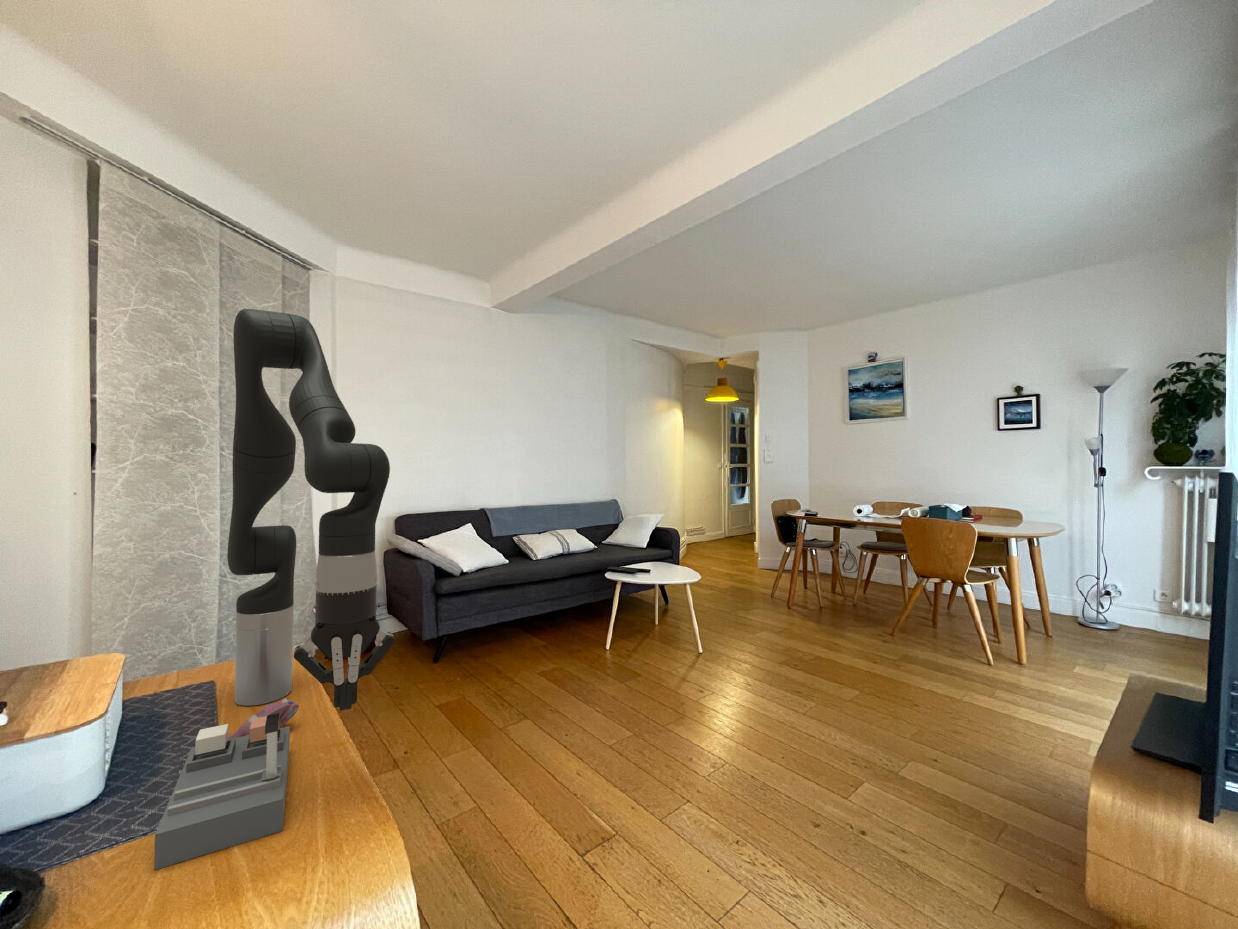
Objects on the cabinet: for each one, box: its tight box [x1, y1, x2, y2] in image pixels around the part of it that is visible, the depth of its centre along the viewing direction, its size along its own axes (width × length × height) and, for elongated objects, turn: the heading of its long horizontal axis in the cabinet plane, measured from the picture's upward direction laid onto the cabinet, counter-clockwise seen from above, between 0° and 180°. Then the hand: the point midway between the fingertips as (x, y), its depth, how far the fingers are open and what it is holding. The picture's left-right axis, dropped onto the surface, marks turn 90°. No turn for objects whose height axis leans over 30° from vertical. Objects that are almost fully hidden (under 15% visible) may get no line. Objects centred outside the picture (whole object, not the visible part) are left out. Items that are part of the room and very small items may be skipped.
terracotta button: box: [250, 716, 267, 743], centre depth 74 cm, size 3×3×2 cm
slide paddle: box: [262, 713, 281, 782], centre depth 66 cm, size 3×2×8 cm, turn 32°
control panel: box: [153, 725, 291, 871], centre depth 68 cm, size 20×12×5 cm, turn 31°
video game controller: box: [228, 697, 300, 739], centre depth 83 cm, size 10×5×7 cm, turn 169°
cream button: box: [194, 723, 229, 755], centre depth 71 cm, size 3×3×2 cm
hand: (345, 707), depth 70 cm, fingers closed
